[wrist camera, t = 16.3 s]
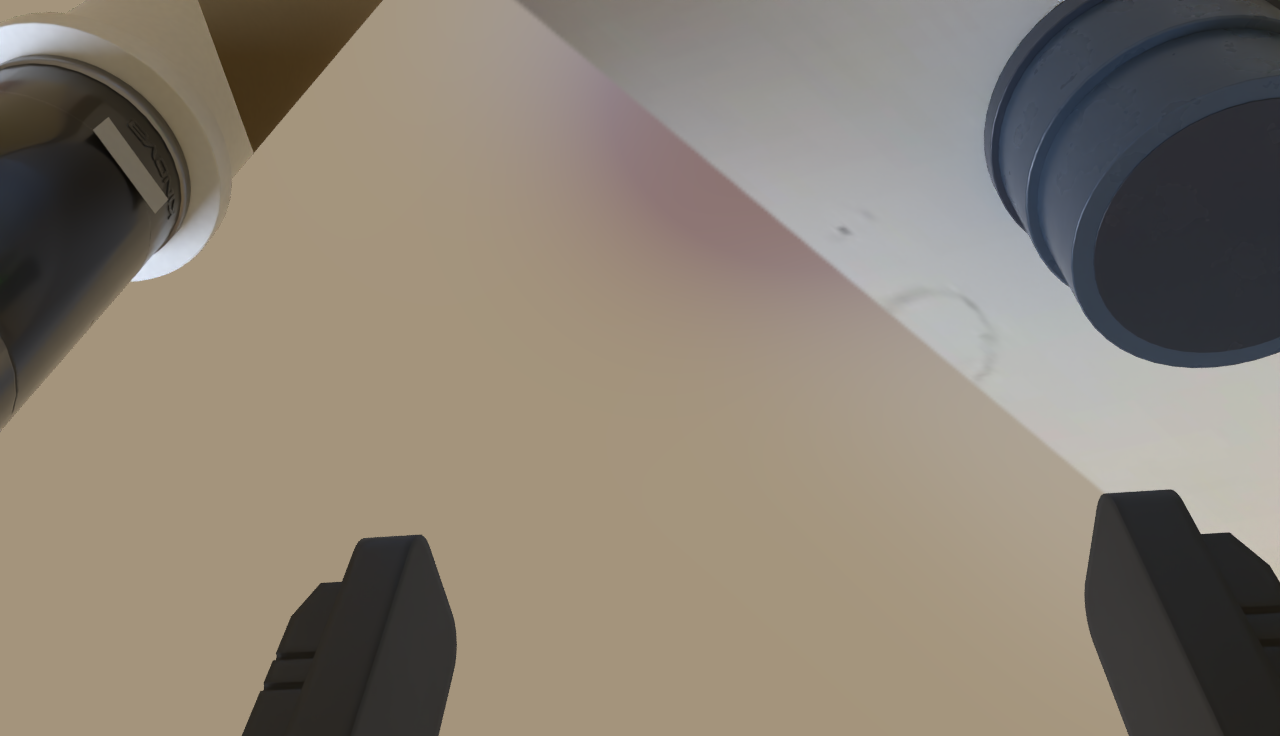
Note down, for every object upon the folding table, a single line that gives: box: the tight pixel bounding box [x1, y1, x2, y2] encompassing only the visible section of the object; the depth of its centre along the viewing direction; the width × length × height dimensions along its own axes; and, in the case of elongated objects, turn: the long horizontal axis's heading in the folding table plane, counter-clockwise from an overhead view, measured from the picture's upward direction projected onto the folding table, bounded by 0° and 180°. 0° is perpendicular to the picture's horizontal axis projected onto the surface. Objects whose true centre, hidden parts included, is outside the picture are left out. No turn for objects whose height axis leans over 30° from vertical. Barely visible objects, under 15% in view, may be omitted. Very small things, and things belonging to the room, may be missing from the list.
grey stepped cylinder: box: [984, 0, 1280, 368], centre depth 38 cm, size 12×12×10 cm
